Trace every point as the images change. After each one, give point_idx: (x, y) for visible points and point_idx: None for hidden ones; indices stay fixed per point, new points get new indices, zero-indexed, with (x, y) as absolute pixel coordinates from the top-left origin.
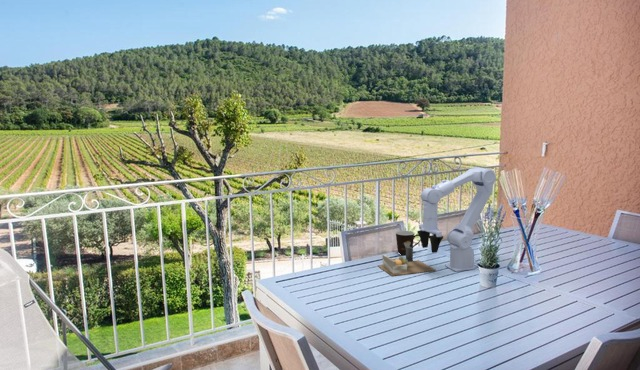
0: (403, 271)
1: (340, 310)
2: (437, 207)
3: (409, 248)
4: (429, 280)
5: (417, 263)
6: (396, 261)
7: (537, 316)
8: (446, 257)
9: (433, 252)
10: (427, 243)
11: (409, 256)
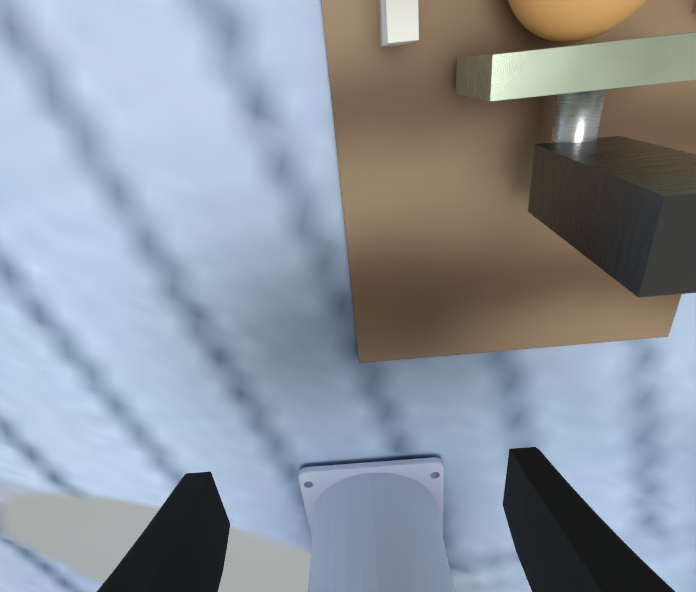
0: None
1: None
2: None
3: (657, 218)
4: (110, 205)
5: (593, 288)
6: None
7: None
8: (615, 523)
9: (185, 485)
10: (532, 574)
11: (565, 175)
